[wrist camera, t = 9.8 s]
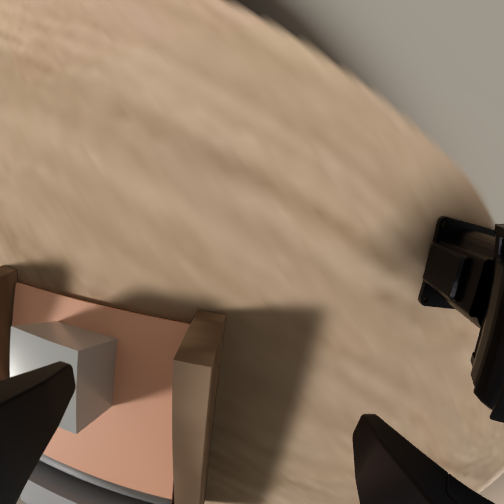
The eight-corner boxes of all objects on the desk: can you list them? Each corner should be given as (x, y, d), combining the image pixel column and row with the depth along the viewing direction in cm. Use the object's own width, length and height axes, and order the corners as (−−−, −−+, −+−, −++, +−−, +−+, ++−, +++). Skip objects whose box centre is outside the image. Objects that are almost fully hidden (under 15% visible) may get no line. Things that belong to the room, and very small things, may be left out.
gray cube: (117, 338, 21) (78, 350, 15) (112, 405, 20) (76, 434, 14) (58, 321, 21) (10, 325, 15) (54, 384, 20) (11, 403, 14)
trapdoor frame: (225, 314, 22) (211, 367, 15) (204, 500, 27) (196, 544, 21) (2, 265, 22) (-47, 287, 15) (48, 451, 27) (26, 483, 21)
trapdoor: (196, 321, 24) (184, 328, 19) (174, 527, 21) (165, 557, 16) (33, 283, 24) (0, 280, 19) (37, 477, 21) (14, 495, 16)
